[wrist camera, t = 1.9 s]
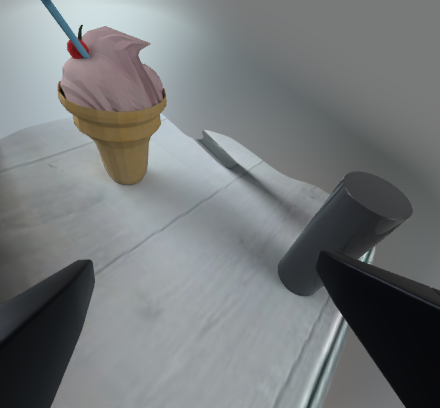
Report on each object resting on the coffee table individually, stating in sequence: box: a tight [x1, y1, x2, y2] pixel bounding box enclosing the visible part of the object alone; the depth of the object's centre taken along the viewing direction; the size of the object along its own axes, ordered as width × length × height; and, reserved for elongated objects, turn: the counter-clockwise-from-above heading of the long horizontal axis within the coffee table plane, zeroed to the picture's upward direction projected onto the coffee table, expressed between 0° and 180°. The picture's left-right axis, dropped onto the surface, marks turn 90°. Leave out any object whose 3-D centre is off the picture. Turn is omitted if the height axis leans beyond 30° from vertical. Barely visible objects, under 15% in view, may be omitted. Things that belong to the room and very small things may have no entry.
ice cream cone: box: [41, 0, 167, 185], centre depth 26 cm, size 11×11×20 cm
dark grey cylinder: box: [278, 171, 413, 296], centre depth 22 cm, size 5×5×14 cm
